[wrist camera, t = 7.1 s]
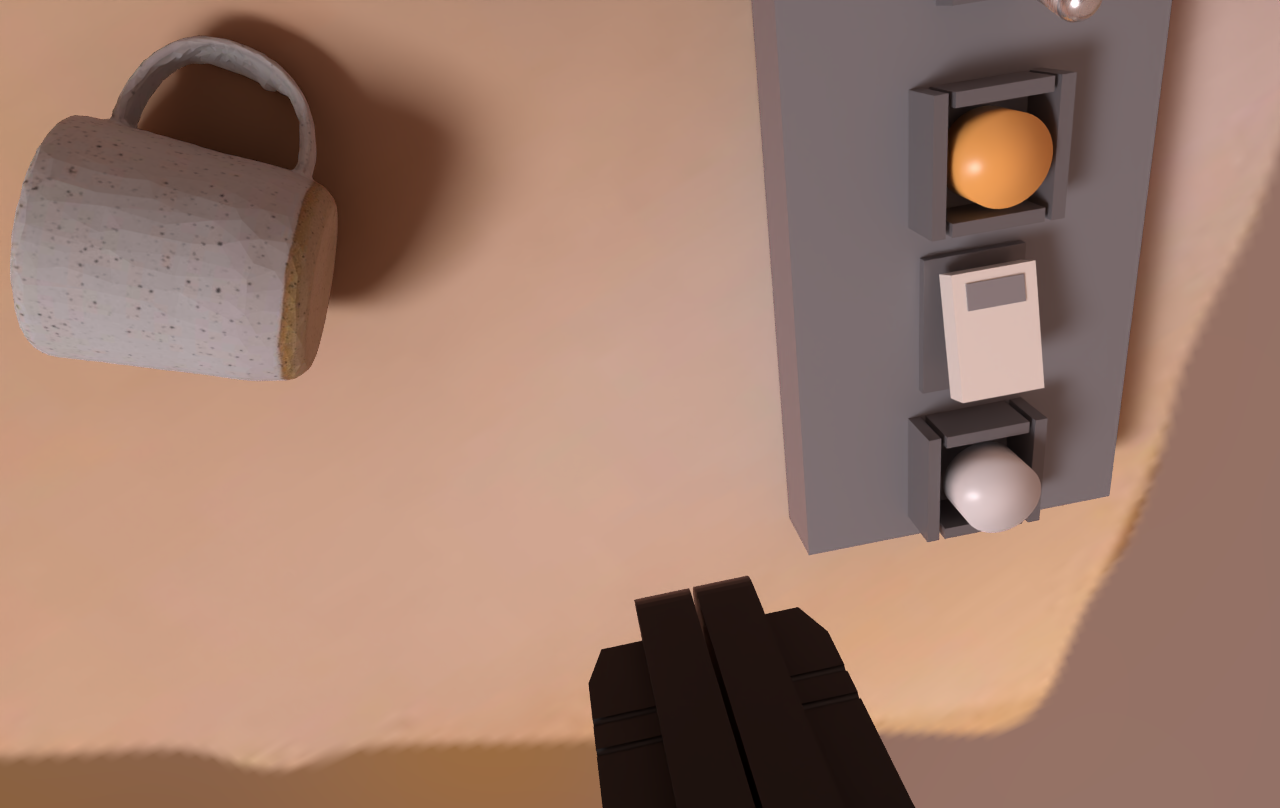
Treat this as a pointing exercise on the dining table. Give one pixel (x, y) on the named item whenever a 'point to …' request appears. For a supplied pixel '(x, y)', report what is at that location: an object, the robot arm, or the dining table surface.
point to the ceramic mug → (174, 239)
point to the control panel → (945, 244)
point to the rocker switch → (992, 330)
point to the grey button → (991, 487)
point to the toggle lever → (1072, 8)
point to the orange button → (997, 156)
